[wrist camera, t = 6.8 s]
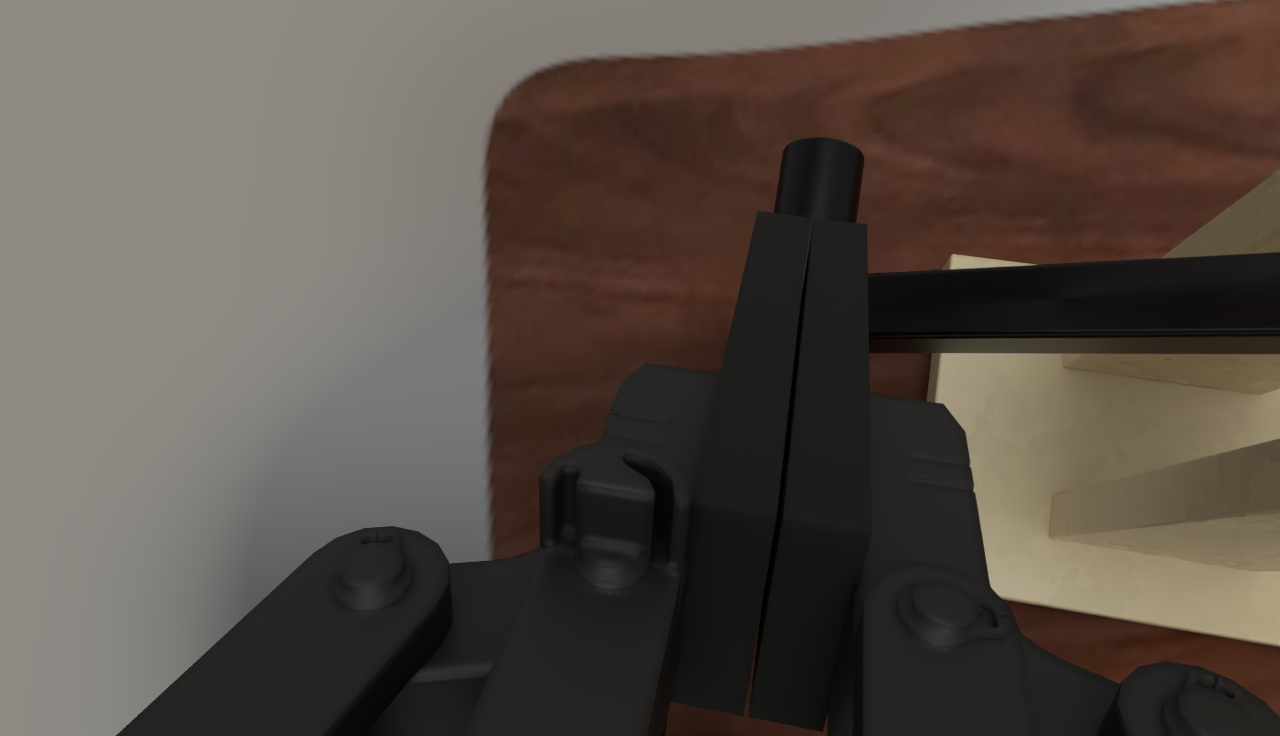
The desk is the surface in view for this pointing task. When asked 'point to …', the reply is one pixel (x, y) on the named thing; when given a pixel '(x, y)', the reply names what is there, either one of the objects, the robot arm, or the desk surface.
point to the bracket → (1132, 467)
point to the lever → (1043, 289)
